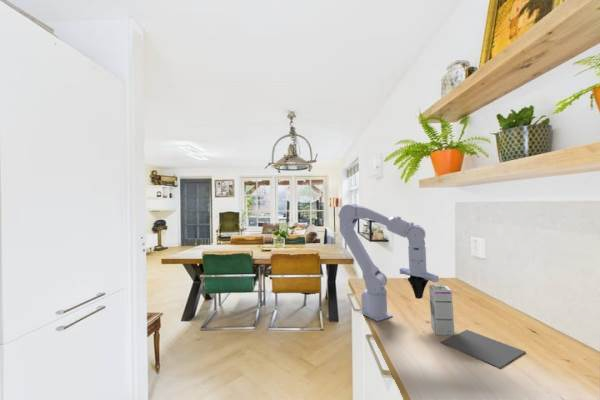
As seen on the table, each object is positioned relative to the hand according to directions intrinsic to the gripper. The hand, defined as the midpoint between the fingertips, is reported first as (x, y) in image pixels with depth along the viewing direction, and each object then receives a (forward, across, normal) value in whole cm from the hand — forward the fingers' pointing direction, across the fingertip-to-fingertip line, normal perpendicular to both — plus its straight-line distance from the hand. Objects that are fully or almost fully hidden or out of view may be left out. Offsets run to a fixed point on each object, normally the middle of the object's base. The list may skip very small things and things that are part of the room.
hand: (418, 297), depth 98 cm
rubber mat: (+9, -20, 0) cm, 22 cm away
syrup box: (+9, -8, 0) cm, 12 cm away
